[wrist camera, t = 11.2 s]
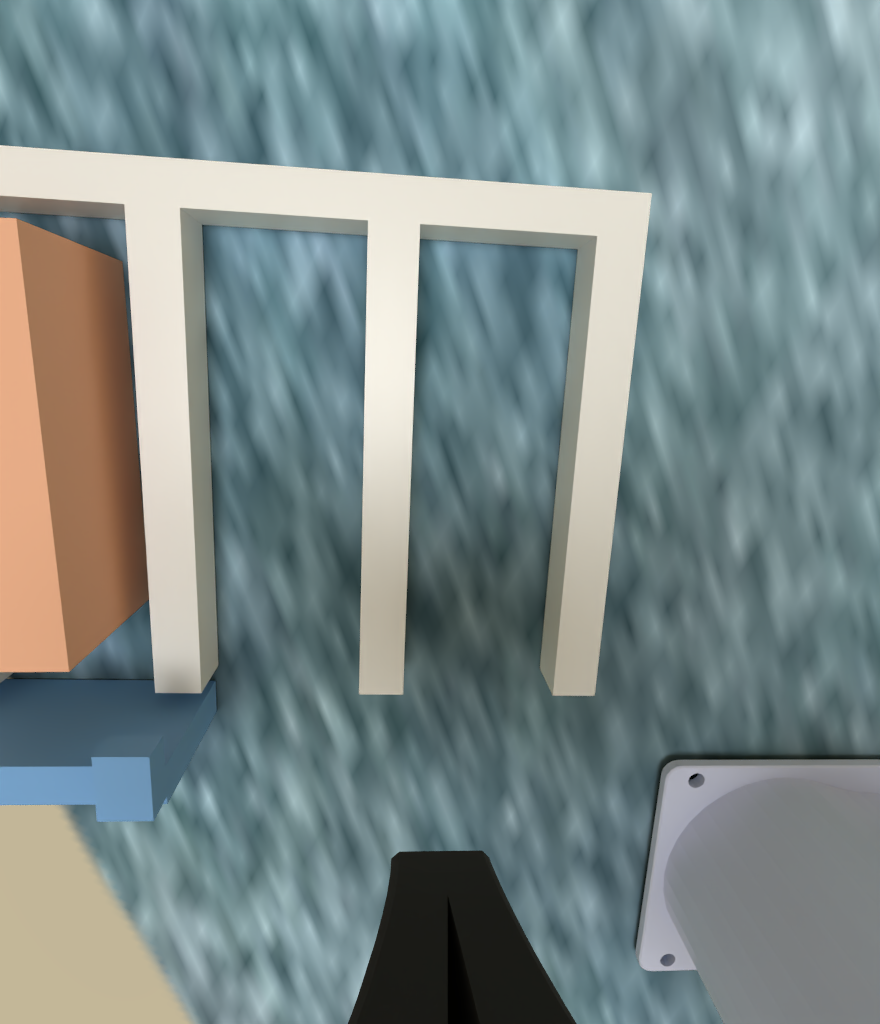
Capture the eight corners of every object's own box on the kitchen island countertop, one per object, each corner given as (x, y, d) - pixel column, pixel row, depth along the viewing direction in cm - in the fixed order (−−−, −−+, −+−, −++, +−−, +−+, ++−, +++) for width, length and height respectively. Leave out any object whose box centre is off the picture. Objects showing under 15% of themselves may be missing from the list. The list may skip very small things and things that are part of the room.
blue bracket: (214, 655, 18) (148, 757, 13) (216, 711, 18) (154, 828, 13) (-16, 653, 17) (-170, 757, 13) (-9, 710, 18) (-156, 832, 13)
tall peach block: (124, 262, 15) (16, 218, 11) (152, 596, 17) (69, 672, 13) (1, 257, 15) (-161, 210, 11) (42, 596, 17) (-79, 672, 13)
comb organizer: (626, 210, 16) (651, 193, 14) (578, 668, 19) (594, 695, 17) (-86, 160, 14) (-143, 135, 13) (-19, 662, 17) (-61, 691, 16)
